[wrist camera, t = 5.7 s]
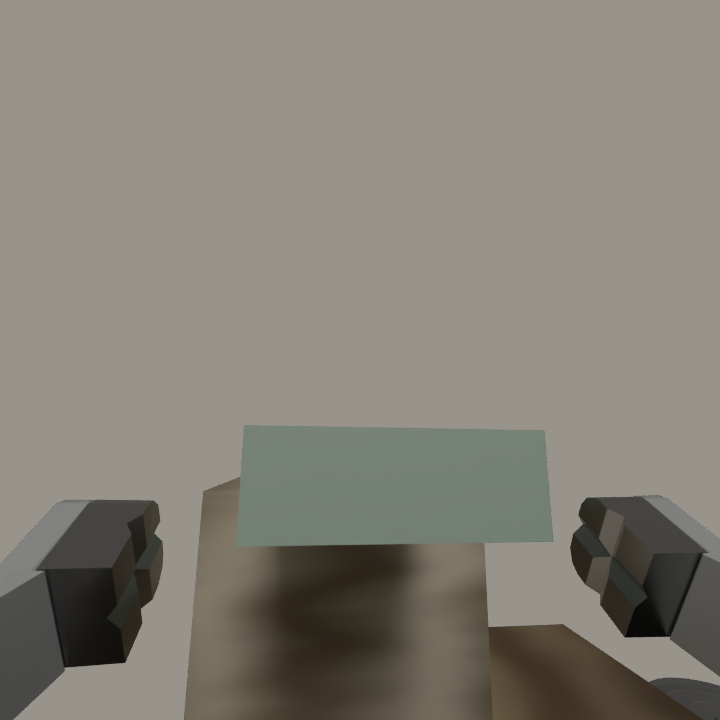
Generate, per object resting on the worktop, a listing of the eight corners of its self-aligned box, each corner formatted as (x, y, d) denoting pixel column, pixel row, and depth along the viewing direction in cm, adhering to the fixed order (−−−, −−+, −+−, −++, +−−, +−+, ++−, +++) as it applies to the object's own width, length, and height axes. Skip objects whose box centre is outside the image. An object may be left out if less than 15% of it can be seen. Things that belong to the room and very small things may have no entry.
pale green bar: (364, 472, 27) (364, 446, 27) (552, 541, 6) (544, 430, 7) (291, 471, 26) (292, 445, 26) (236, 547, 6) (243, 425, 6)
